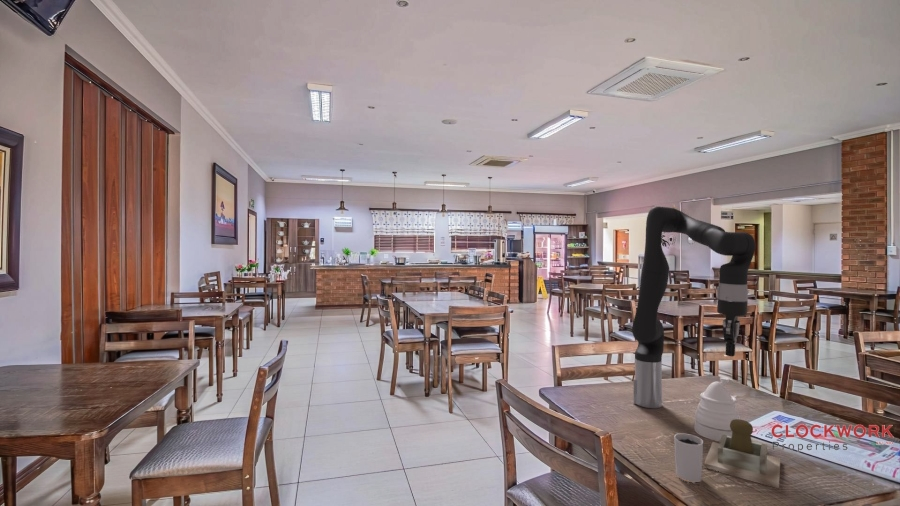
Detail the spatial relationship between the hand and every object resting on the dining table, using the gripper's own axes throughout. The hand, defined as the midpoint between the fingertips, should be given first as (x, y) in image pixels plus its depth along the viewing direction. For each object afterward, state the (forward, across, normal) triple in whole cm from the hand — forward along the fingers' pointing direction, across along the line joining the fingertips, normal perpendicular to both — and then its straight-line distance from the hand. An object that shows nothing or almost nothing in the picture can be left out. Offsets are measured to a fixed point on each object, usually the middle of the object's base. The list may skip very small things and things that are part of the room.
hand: (730, 355), depth 126 cm
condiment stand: (+27, +12, +5) cm, 30 cm away
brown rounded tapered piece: (+26, +12, +5) cm, 29 cm away
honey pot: (+28, -7, -3) cm, 29 cm away
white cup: (+27, +28, -4) cm, 40 cm away
